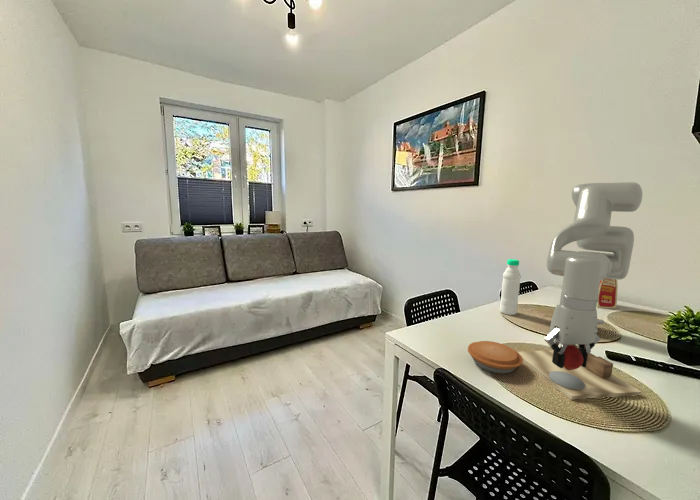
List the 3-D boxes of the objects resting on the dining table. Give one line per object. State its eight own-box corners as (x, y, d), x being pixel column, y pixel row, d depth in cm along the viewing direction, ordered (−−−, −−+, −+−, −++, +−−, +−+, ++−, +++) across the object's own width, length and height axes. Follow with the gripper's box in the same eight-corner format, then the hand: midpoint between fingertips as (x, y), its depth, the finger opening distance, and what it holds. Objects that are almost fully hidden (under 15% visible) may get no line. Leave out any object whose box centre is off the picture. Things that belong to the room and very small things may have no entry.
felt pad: (567, 371, 84) (567, 370, 84) (592, 389, 76) (592, 387, 76) (542, 373, 83) (542, 371, 83) (565, 390, 75) (565, 389, 75)
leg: (563, 353, 94) (565, 340, 93) (569, 353, 94) (571, 340, 93) (602, 377, 81) (604, 363, 80) (610, 377, 81) (612, 362, 80)
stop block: (598, 368, 86) (599, 356, 86) (611, 376, 82) (613, 363, 82) (593, 368, 86) (595, 356, 85) (606, 376, 82) (608, 364, 81)
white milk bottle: (516, 316, 128) (522, 261, 124) (498, 313, 132) (503, 260, 128) (516, 311, 134) (522, 259, 130) (500, 308, 138) (505, 257, 133)
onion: (572, 364, 82) (576, 338, 80) (586, 376, 76) (591, 348, 75) (550, 363, 82) (554, 337, 81) (563, 375, 77) (567, 347, 75)
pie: (457, 360, 92) (458, 346, 91) (482, 346, 101) (483, 333, 100) (506, 385, 80) (508, 368, 79) (530, 366, 89) (532, 352, 88)
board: (569, 352, 97) (570, 349, 97) (640, 395, 76) (641, 391, 75) (514, 355, 95) (514, 351, 95) (570, 400, 74) (571, 395, 74)
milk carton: (597, 307, 140) (603, 267, 137) (585, 301, 149) (591, 263, 146) (618, 309, 139) (625, 268, 135) (605, 302, 148) (611, 264, 144)
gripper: (594, 297, 81) (584, 356, 84) (537, 298, 79) (529, 358, 82) (621, 306, 73) (610, 371, 76) (559, 308, 72) (550, 374, 75)
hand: (568, 364), depth 79 cm, fingers closed on onion, 5 cm apart
